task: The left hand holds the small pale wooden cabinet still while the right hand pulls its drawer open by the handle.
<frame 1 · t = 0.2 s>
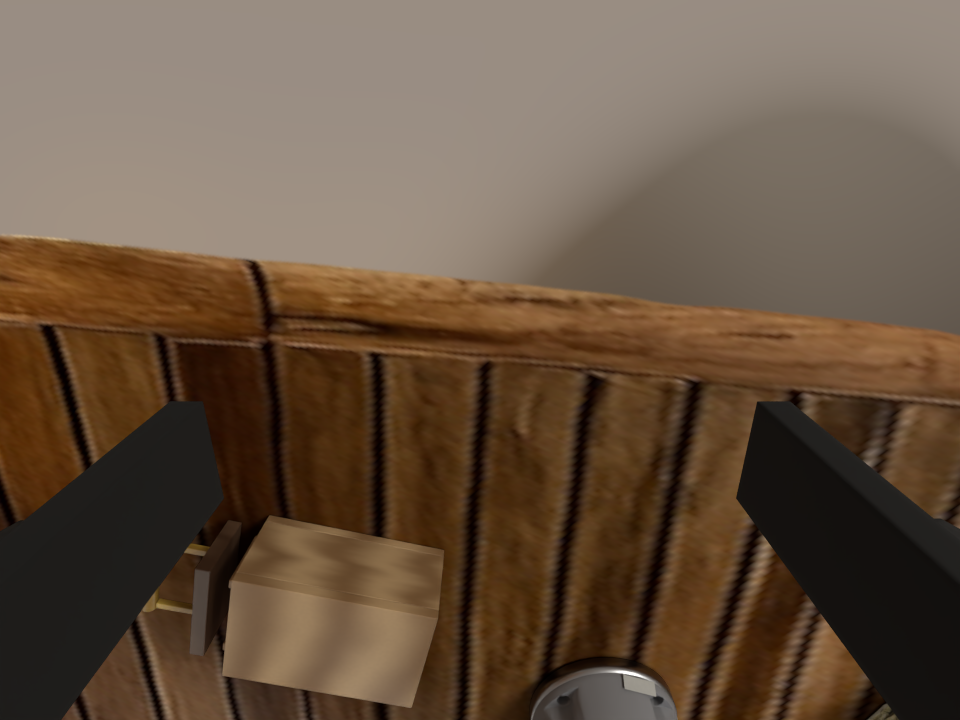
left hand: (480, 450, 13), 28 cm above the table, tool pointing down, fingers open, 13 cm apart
fossil: (905, 712, 57), on the table
cabinet: (349, 576, 50), on the table
drawer: (262, 595, 46), point 4 cm above the table, slide at 2.0 cm
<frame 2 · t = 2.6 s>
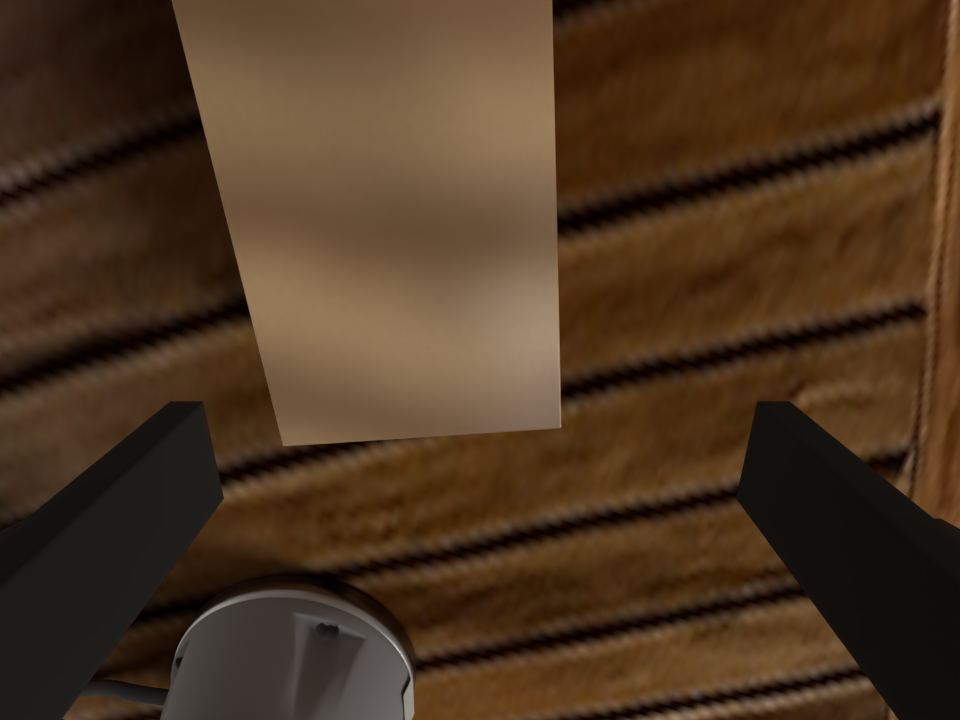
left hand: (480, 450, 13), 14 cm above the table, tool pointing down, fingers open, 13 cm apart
cabinet: (418, 198, 24), on the table
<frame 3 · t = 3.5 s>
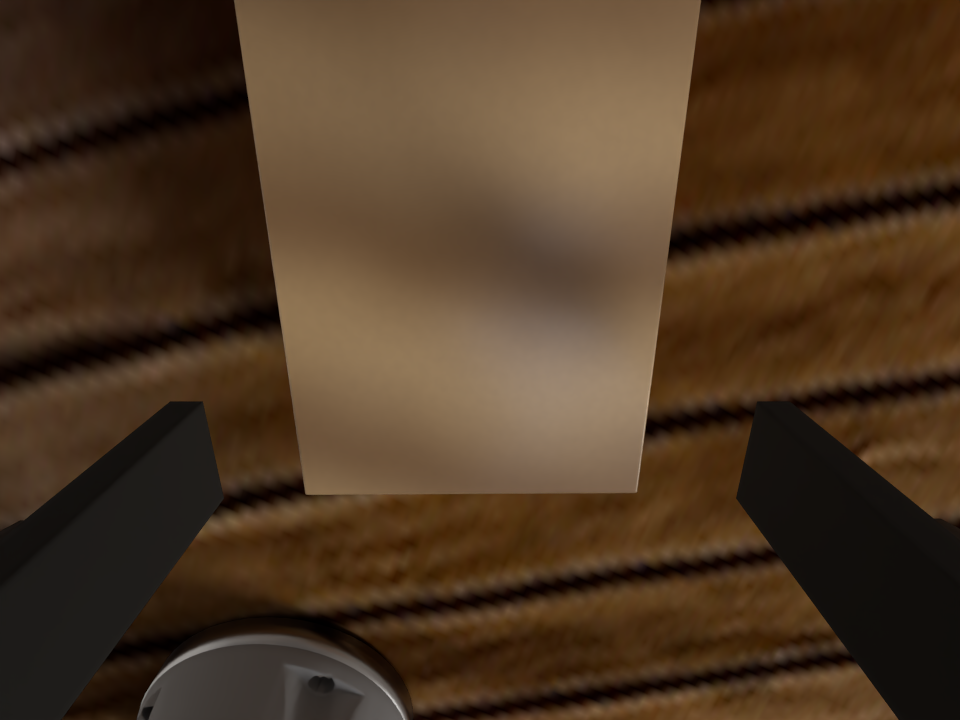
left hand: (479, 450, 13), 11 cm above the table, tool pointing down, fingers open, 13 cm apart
cabinet: (471, 210, 21), on the table
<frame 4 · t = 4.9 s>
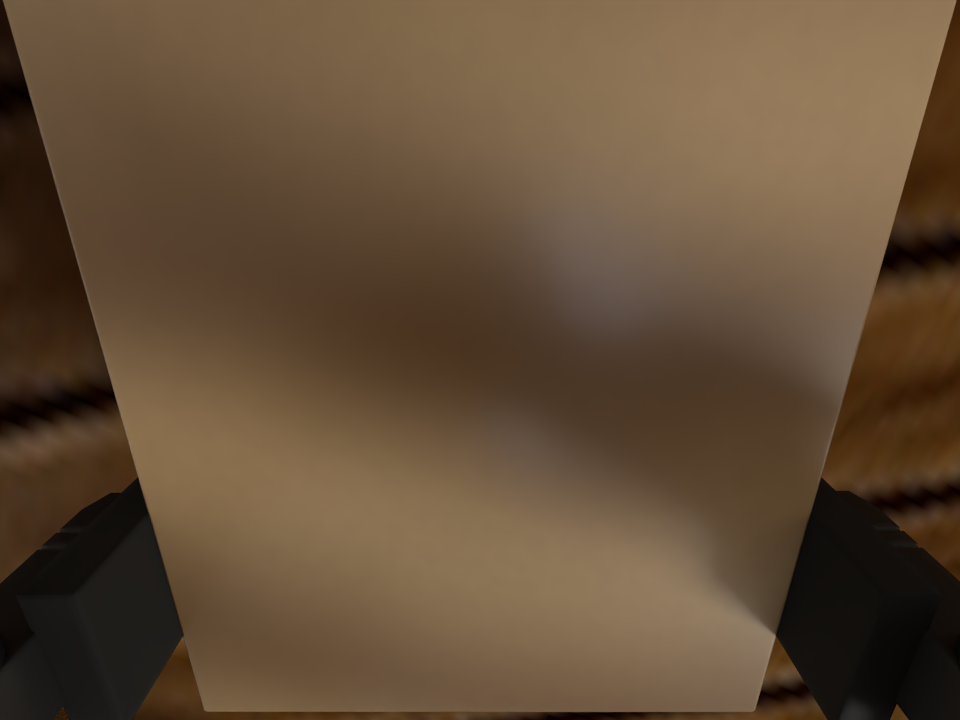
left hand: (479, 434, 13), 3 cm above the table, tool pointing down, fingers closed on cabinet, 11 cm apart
cabinet: (479, 230, 14), on the table, touching left hand
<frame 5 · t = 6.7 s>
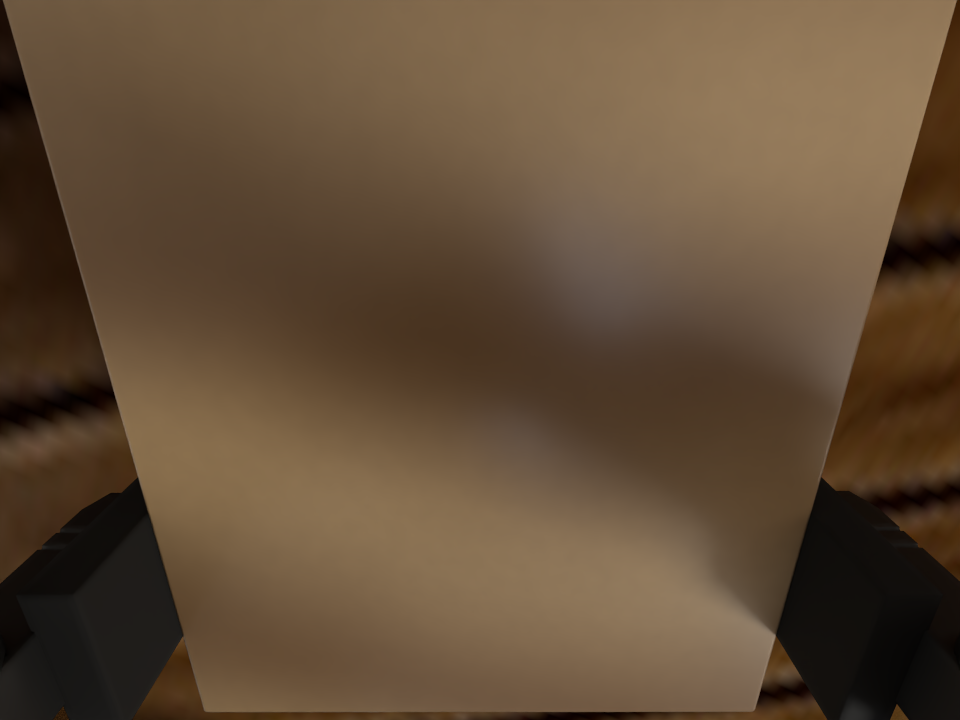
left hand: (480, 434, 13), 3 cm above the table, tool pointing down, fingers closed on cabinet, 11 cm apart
cabinet: (479, 230, 14), on the table, touching left hand
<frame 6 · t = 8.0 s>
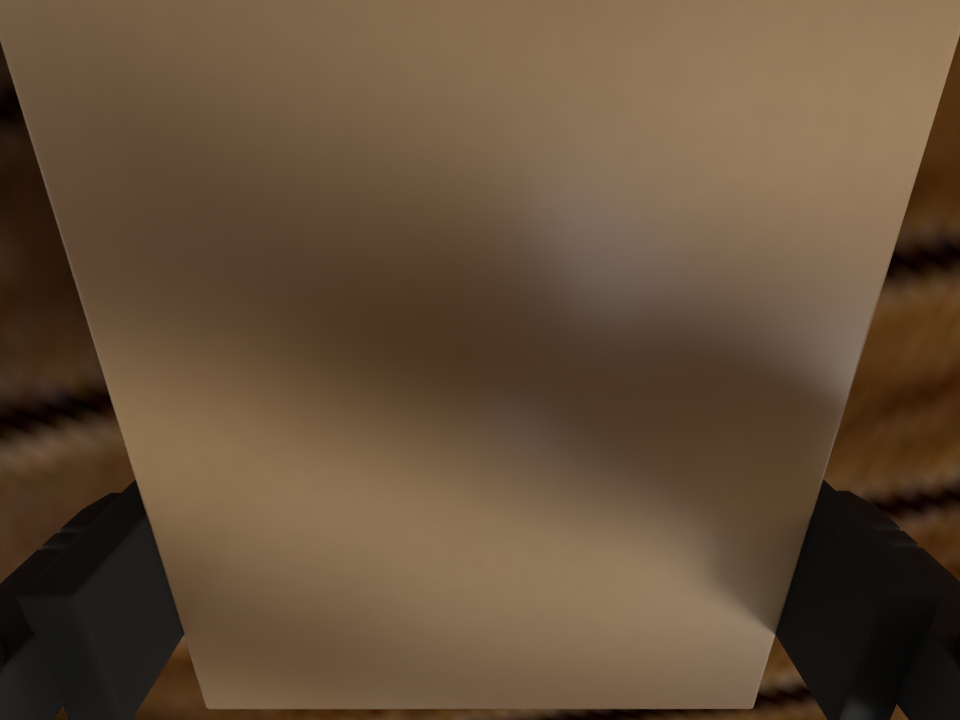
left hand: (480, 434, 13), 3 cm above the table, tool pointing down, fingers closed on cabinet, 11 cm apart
cabinet: (479, 224, 14), on the table, touching left hand
when the left hand's fingers open (3 cm above the table, at t = 9.1 s): cabinet stays where it is, on the table.
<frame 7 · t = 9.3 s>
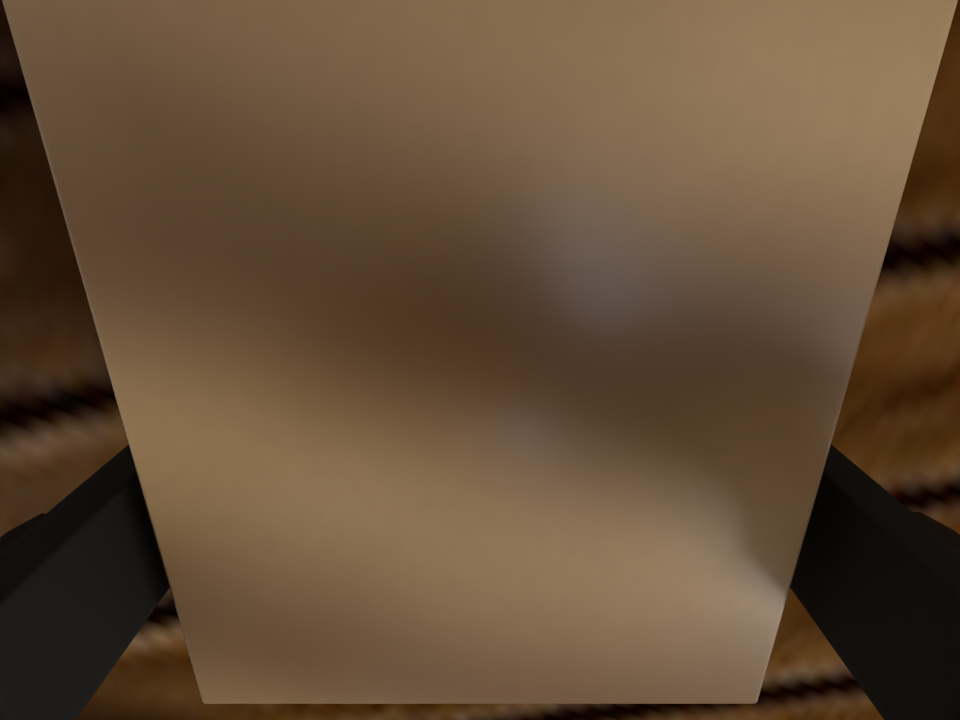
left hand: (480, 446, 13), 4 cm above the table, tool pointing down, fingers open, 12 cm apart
cabinet: (479, 221, 14), on the table
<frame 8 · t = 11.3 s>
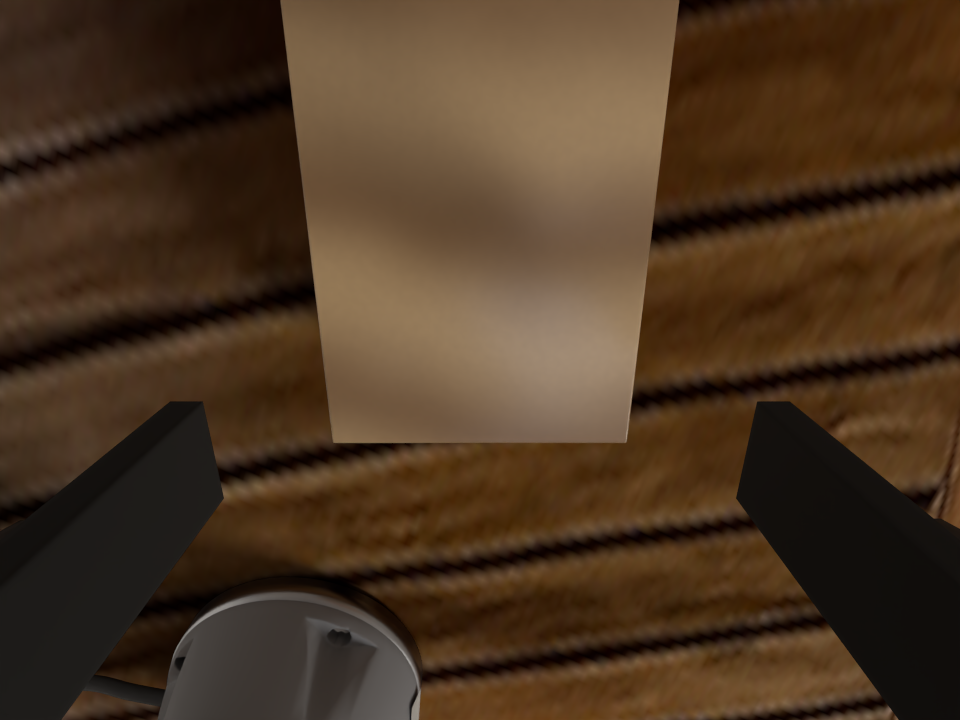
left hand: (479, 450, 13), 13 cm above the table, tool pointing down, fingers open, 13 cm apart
cabinet: (479, 193, 23), on the table
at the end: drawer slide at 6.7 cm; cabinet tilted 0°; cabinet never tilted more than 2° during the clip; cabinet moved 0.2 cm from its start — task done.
